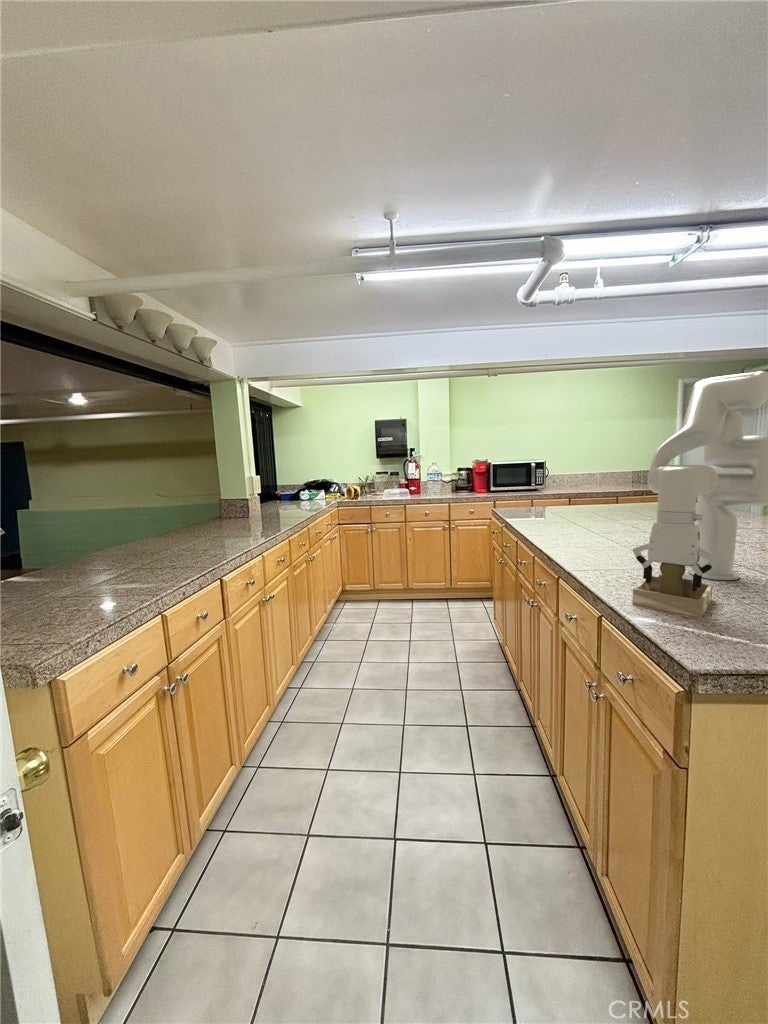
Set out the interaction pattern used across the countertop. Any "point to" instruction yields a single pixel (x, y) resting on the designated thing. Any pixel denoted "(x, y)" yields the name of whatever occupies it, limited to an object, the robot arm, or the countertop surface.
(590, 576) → the countertop surface
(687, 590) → the tin
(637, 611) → the countertop surface
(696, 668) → the countertop surface
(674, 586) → the cork
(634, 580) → the countertop surface
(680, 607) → the tray
